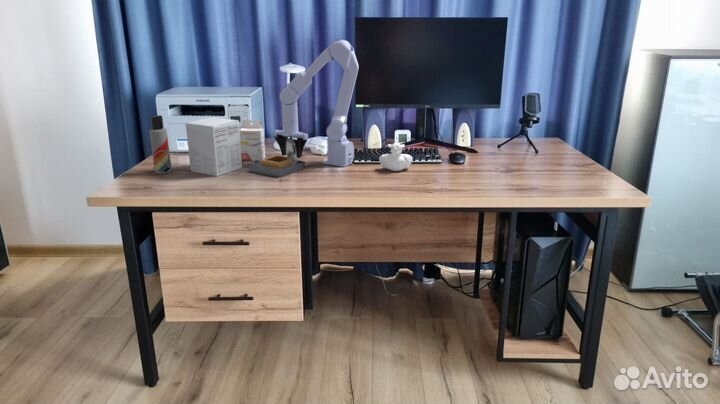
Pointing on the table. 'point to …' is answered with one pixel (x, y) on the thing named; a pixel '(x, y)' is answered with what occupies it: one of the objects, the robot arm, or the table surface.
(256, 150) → the ink cartridge box
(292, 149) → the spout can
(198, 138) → the supplement box
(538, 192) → the table surface
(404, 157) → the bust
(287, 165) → the gray plate with frame
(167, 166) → the lotion bottle
